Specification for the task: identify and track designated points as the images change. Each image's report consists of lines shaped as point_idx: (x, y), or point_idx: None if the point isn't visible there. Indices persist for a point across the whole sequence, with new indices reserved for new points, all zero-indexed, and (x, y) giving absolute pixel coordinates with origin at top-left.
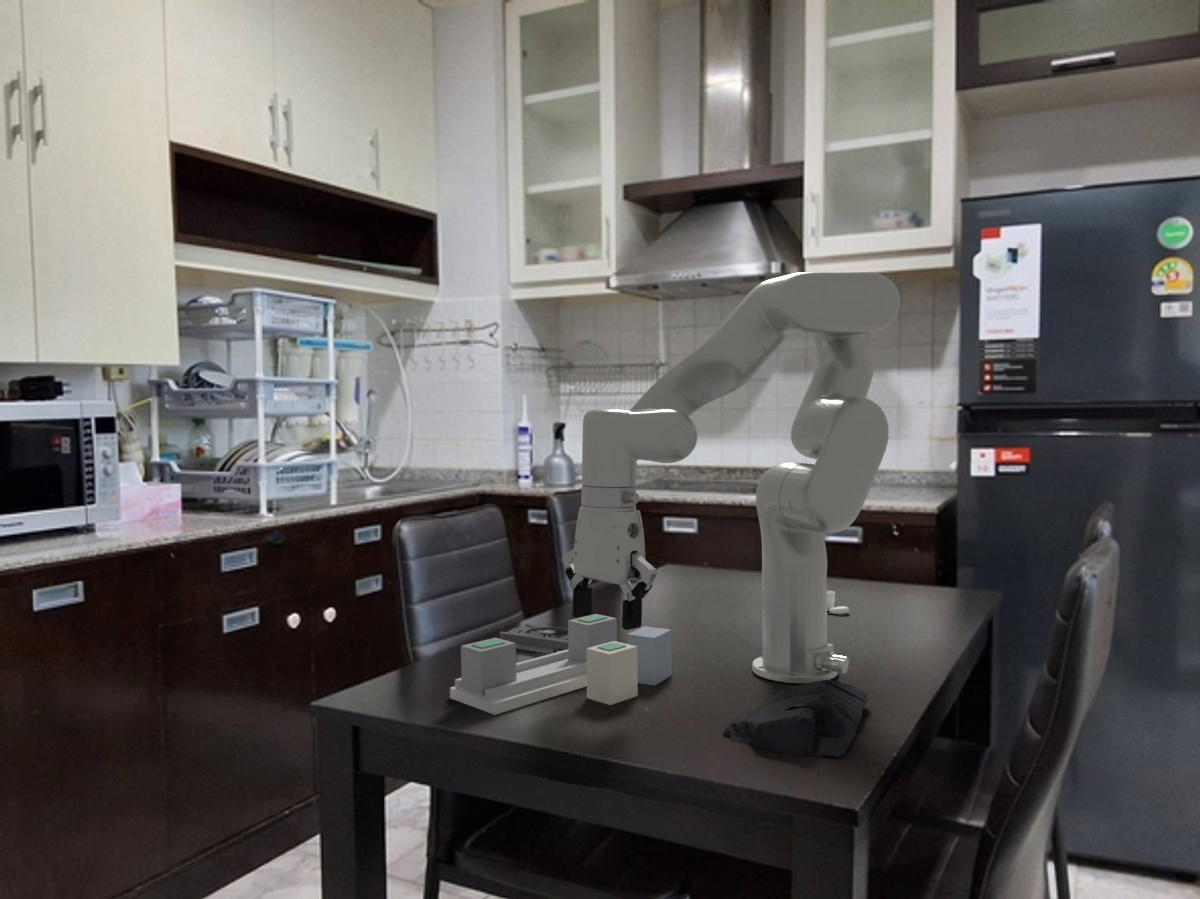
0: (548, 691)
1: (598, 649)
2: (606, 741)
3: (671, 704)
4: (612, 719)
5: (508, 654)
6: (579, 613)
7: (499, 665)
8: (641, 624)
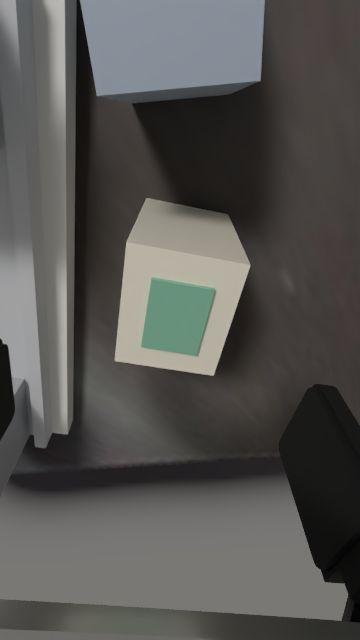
0: (69, 336)
1: (153, 353)
2: (284, 420)
3: (332, 227)
4: (250, 356)
5: None
6: (7, 413)
7: (5, 451)
8: (336, 388)
